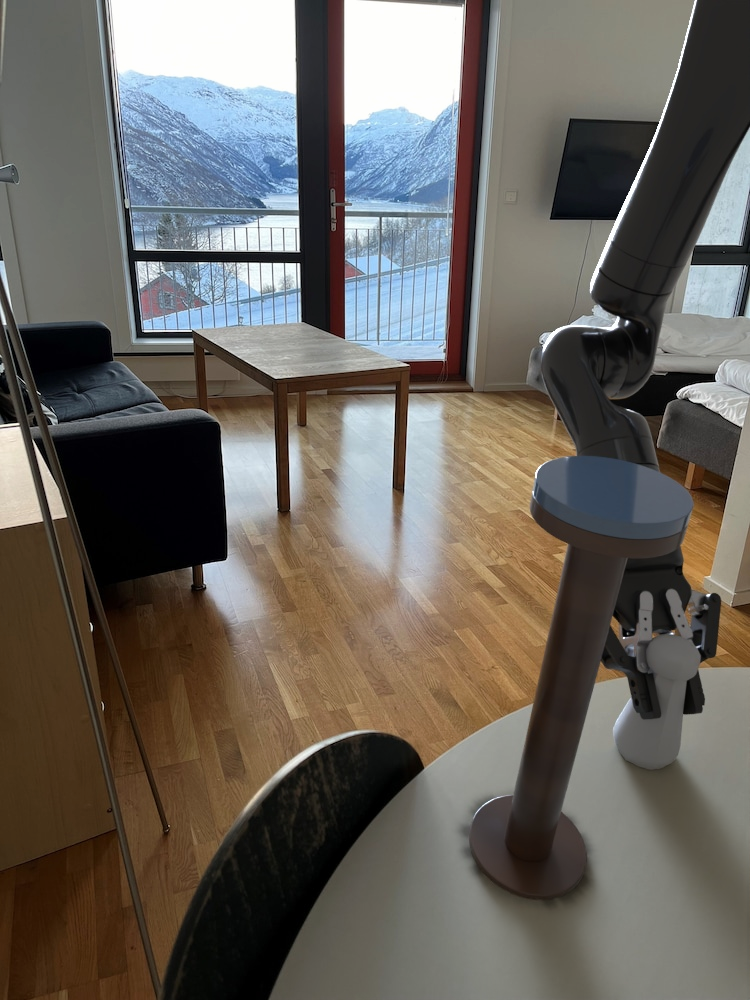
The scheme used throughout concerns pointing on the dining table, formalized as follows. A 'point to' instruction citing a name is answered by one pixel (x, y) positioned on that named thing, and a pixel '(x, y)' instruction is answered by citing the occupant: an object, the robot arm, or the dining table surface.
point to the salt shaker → (662, 736)
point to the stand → (558, 719)
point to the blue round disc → (613, 497)
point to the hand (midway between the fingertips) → (672, 715)
